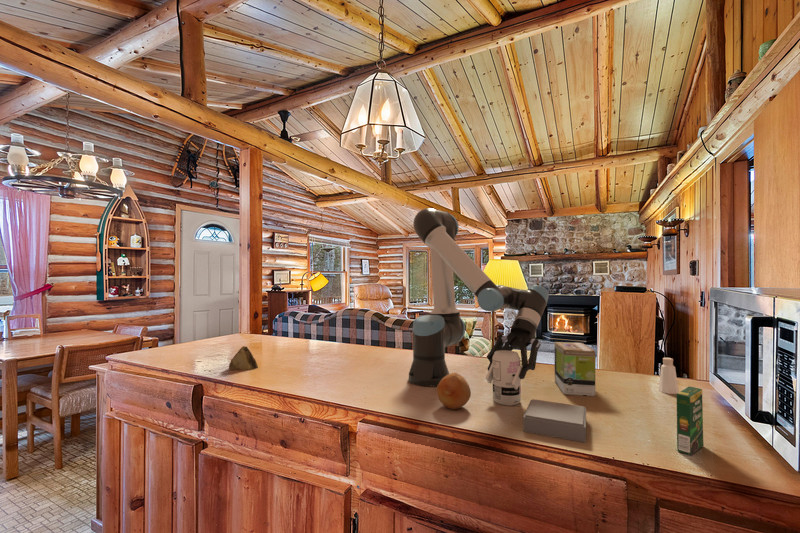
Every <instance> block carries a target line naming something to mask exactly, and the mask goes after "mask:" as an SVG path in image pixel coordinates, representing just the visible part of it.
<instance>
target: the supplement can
mask: <svg viewBox="0 0 800 533" xmlns="http://www.w3.org/2000/svg"><path fill="white" fill-rule="evenodd" d="M492 360H493V380H492V399H493V400H494V402H495V403H497V404H498V405H502V406H516V405H518V404H519V403H521V400H522V398H521V397H522V396H521V392H522V387H521V383H522V382H521V381H520V384H519V386H518V389H517V390H516V389H514V387H513V386H512V382H513V379H514V377H515V374H516V372H517V369H518V367H519V366H521V356H520V355H519V353H518V352H517V351H513V350H512V351H507V350H500V351H495V352H494V355H493V357H492Z"/></svg>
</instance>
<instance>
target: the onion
mask: <svg viewBox="0 0 800 533" xmlns="http://www.w3.org/2000/svg"><path fill="white" fill-rule="evenodd" d="M436 394H437V397H438V400H439V402H440V403H441V404H442V405H443V406H444V407H445V408H449V409H450V410H458V409H460V408H462V407H464V406H465V405H466V404H467V403H468V402H469V401H470V398H471V395H472V391H471V388H470V385H469V383H468V381H467V380H466V379H465V377H463V376H462V375H461V374H459V373H457V372H451V373H449V374H448V375H446V376H445V377H444V378H443V379H442V380H441V381H440V382H439V384H438V386H436Z"/></svg>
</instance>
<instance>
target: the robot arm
mask: <svg viewBox="0 0 800 533" xmlns="http://www.w3.org/2000/svg"><path fill="white" fill-rule="evenodd" d="M412 226H413V229H414V230H413V231H414V232H415V234H416V235H417V237H418V238H419V239H420V240H421V242H423V243H424V244H425V246H426V247H428V248H429V249H430V260H431V261H430V264H431V278H432V279H431V280H432V281H431V282H432V294H433V296H432V297H433V309H432V311H430V314H427V315H422V316H421V315H420V316H418V317H416V318H415V319H414V320H413V322H412V323H413V324H412V350H413V351H412V355H413V357H412V363H411V366H410V369H409V371H408V382H409V383H411V384H413V385H415V386H421V387H437V386H438V384H439V382H440V381H441V380H442V379H443V378H444V377H445V376H446V375H448V374H450V372H449V369H448V366H447V362H446V358H445V357H446V350H445V349H446V348H447V347H449V346H454V345H456V344H458V343H459V342H461V340H462V339H463V337H464V336H465V334H466V325H465V321H464V320H463V319H462V318H461V315H460V314H461V313H460V310H459V309H458V308H457V307H456V295H455V294H456V293H455V280H454V273H455V275H456V276H457V277H458V278H459V279H460V281H461V282H462V283H463V284H464V285H465V286H466V287H467V288H468V289H469V291H471V292H472V293H473V294H474V296H475V297H476V298H477V304H478V306H479V307H480V309H481V310H483V311H486V312H497V311H499V310H503V309H511V310H516V311H518V312H517V313H516V315H515V318H514V321H513V323H512V324H511V327H510V331H509V333H508V334H507V335H503V334H501V333H499V335H498V337H497V340H496V342H495V343H494V345H492V347H491V349H490V351H489V352H488V354H487V355H486V358H487V360H488V361H489V364H488V366H487V371H488V372H487V374H486V375H485V380H486V381H487V383H488V384H491V383H493V360H492V357H493V355H494V352H495V351H500V350H507V351H513V350H518V351H520V361H521V363H520V366H519V367H518V369H517V372H516V374H515V377H514V379H513V382H512V386H513V387H514V389H516V390H517V389H518V386H519V384H520V381H521V380H524V379H525V377H526V375H527V372H528V371H535V370H536V365H537V363H536V362H537V357H538V351H539V348H540V347H541V343H540V340H539V339H538V338H535V339H534V337H535V335H536V332H537V329H538V326H539V324H540V321H541V318H542V316H543V314H544V311H545V308H546V307H547V305H548V300H549V297H550V293H549V292H548V290H547V289H546V288H545V287H543V286H541V285H537V284H534V285H530V286H529V287H528V288H527V289H520V288H515V287H509V286H506V285H504V284H503V285H502V284H501V285H500V284H495V282H493V280H492V279H491V278H490V277H489V276H488V275H487V274H486V272H484V271H483V270H482V268H481V267H479V265H478V264H477V263H476V262H475V261H474V260H473V259H472V258H471V257H470V256H469V255H468V254H467V253H466V251H465V250H464V249H463V248H461V246H460V245H459V244H458V243H457V242H456V236H457V235H458V233H459V228H460V227H459V222H458V221H457V219H456V217H455V216H454V215H452V213H449V212H448V211H443V210H442V211H441V210H440V209H439V210H438V209H435V208H432V207H430V208H429V207H428V208H423V209H421V210H419V212H417V213H416V215H415V217H414V219H413V225H412ZM530 345H531V347H530V353H529V359H528V350H527V349H528V348H527V347H529V346H530Z"/></svg>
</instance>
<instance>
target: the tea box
mask: <svg viewBox="0 0 800 533" xmlns="http://www.w3.org/2000/svg"><path fill="white" fill-rule="evenodd" d="M553 351H554V382H555V384H556V385H557V386H558V388H559V389H560V391H561V392H562V393H563V394H564V395H570V396H583V395H587V396H586V397H596V350H595V349H593V348H591V347H590V346H588V345H587V344H584V343H583V342H567V341H565V342H563V341H555V342H554V350H553Z"/></svg>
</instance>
